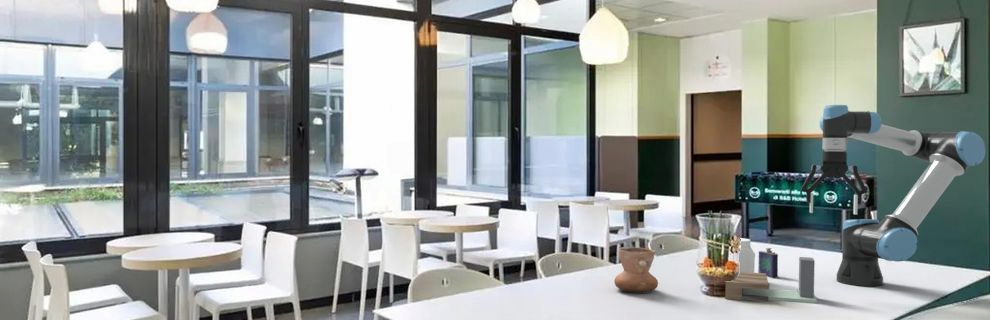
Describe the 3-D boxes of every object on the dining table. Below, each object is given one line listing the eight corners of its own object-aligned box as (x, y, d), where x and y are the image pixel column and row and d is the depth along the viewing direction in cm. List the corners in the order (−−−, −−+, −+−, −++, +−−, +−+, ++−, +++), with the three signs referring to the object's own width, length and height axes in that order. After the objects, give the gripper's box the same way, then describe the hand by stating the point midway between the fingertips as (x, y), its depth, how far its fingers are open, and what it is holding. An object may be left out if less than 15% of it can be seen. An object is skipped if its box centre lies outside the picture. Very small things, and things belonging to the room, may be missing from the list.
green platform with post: (742, 290, 242) (742, 252, 242) (812, 295, 235) (813, 256, 235) (742, 298, 230) (743, 258, 229) (816, 304, 223) (817, 262, 222)
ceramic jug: (664, 296, 230) (665, 253, 230) (620, 296, 230) (621, 252, 230) (649, 286, 248) (650, 245, 248) (608, 285, 248) (609, 245, 248)
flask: (756, 274, 272) (757, 246, 271) (762, 273, 273) (763, 245, 272) (773, 278, 263) (774, 249, 263) (780, 278, 264) (780, 249, 264)
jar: (730, 283, 253) (731, 241, 253) (716, 278, 262) (717, 237, 262) (759, 282, 256) (760, 240, 255) (744, 277, 265) (745, 237, 265)
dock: (725, 286, 247) (726, 270, 247) (765, 289, 243) (766, 273, 243) (725, 298, 228) (725, 281, 228) (768, 301, 224) (768, 284, 224)
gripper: (795, 150, 239) (794, 212, 240) (878, 151, 231) (876, 216, 232) (793, 150, 246) (792, 210, 247) (873, 151, 238) (872, 213, 239)
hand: (833, 213), depth 239 cm, fingers open, 13 cm apart
